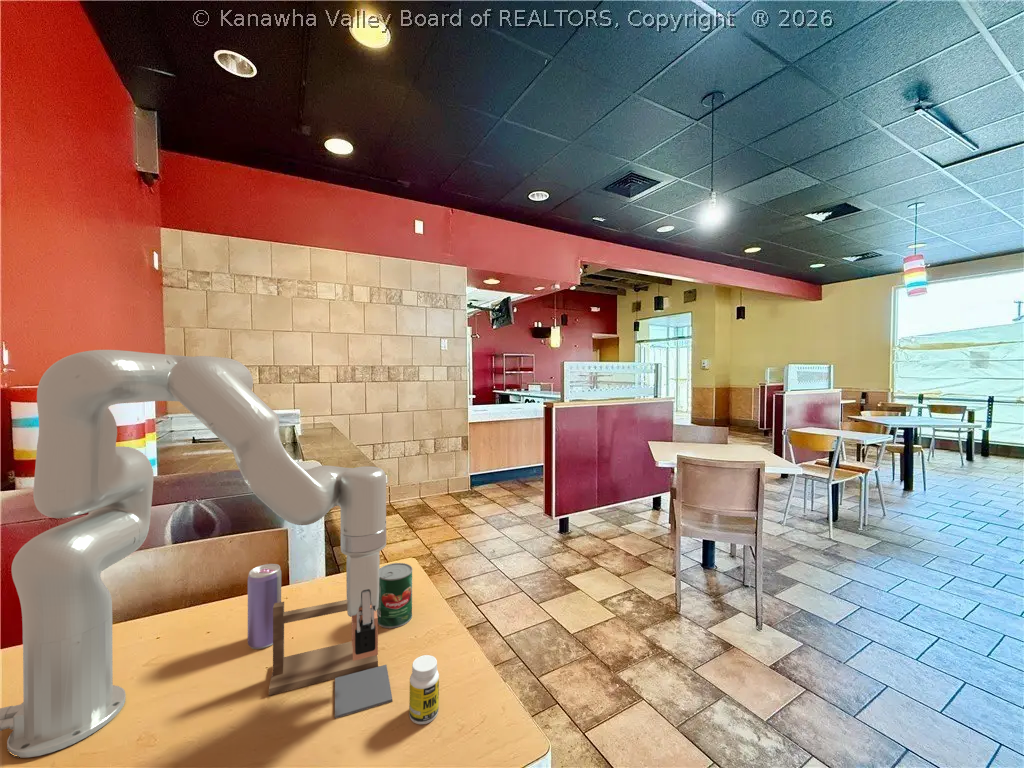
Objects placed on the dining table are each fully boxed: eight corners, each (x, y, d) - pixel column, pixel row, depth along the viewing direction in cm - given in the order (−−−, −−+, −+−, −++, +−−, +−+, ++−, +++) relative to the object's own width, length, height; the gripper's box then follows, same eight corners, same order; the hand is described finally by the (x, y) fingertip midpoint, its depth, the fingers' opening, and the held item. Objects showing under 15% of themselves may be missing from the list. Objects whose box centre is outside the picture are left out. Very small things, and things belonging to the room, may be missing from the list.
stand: (268, 695, 70) (269, 617, 70) (275, 665, 77) (275, 594, 77) (377, 666, 77) (378, 596, 77) (374, 641, 84) (374, 577, 84)
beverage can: (265, 652, 81) (265, 578, 80) (240, 648, 82) (240, 574, 82) (287, 634, 86) (287, 564, 86) (263, 630, 88) (264, 561, 87)
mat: (334, 718, 65) (334, 716, 65) (335, 680, 73) (335, 678, 73) (392, 701, 69) (392, 699, 69) (386, 666, 77) (386, 664, 77)
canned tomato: (397, 604, 98) (397, 559, 98) (419, 615, 94) (419, 568, 93) (369, 620, 92) (369, 572, 92) (391, 633, 87) (391, 582, 87)
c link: (352, 661, 68) (352, 623, 68) (351, 642, 73) (351, 607, 73) (377, 654, 69) (377, 617, 69) (375, 636, 74) (375, 602, 74)
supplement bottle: (424, 730, 63) (424, 677, 63) (403, 717, 66) (403, 666, 66) (444, 709, 67) (445, 659, 67) (424, 697, 70) (424, 649, 70)
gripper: (340, 525, 77) (340, 619, 77) (341, 563, 61) (341, 680, 62) (381, 520, 80) (381, 610, 80) (392, 554, 64) (392, 666, 65)
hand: (364, 639), depth 71 cm, fingers closed on c link, 5 cm apart
